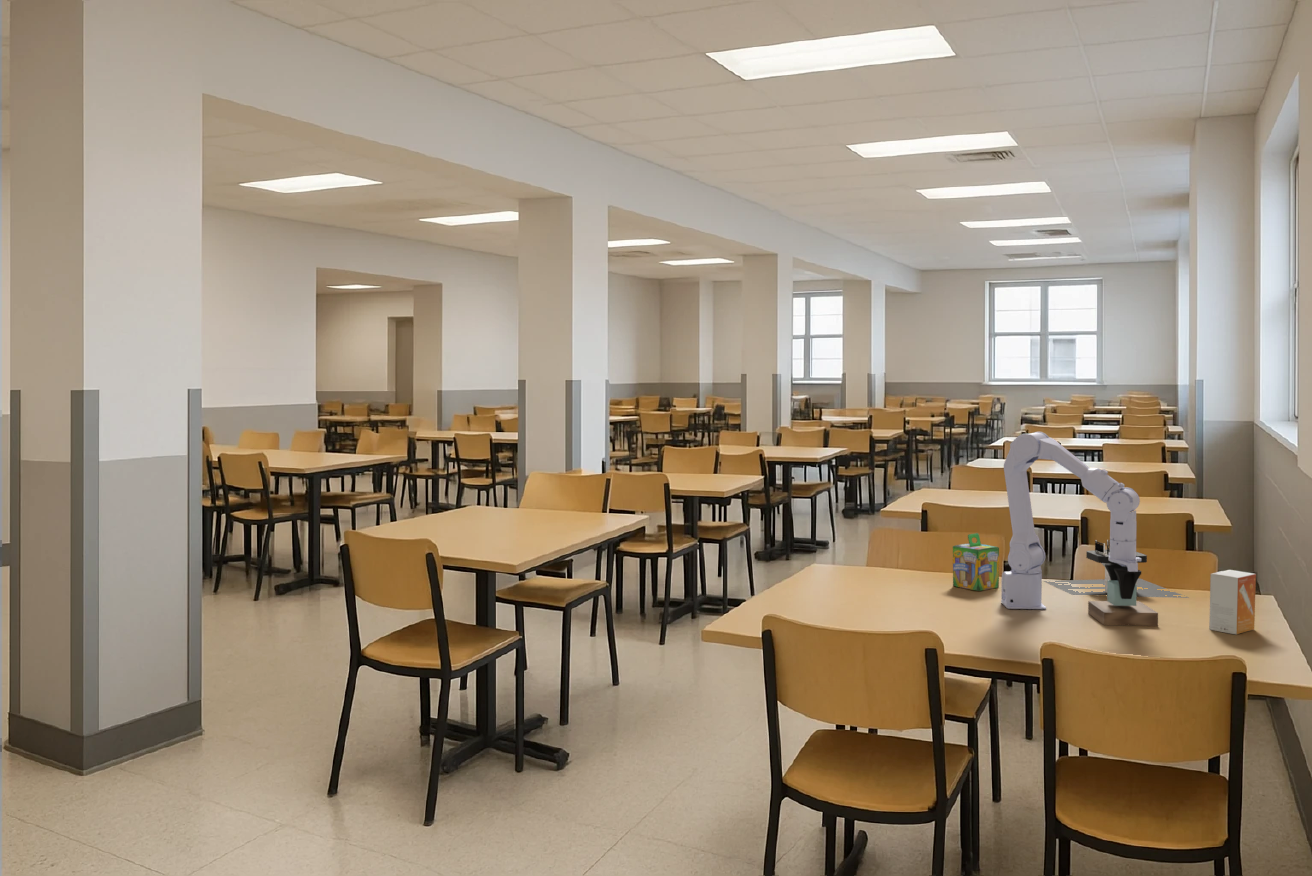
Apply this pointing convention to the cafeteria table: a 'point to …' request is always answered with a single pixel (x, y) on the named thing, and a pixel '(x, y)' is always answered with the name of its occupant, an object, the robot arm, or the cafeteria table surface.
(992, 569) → the chalk box
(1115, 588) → the teal cube
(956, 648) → the cafeteria table surface
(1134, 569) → the robot arm
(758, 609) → the cafeteria table surface
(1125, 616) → the walnut base
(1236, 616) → the small box
